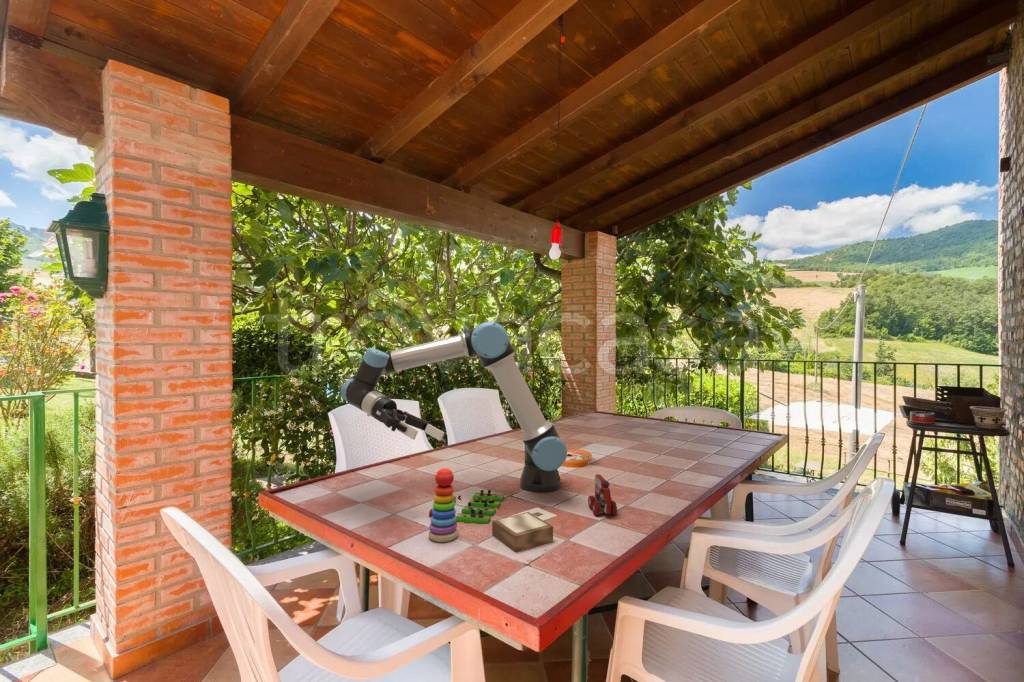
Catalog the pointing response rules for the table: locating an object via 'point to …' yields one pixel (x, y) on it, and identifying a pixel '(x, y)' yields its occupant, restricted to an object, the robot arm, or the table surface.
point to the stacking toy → (443, 509)
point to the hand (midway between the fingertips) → (429, 436)
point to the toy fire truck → (602, 498)
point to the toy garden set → (478, 508)
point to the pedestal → (522, 531)
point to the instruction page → (539, 513)
